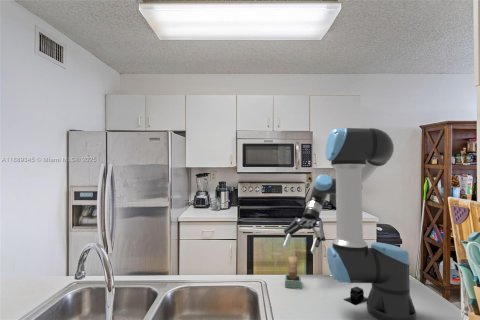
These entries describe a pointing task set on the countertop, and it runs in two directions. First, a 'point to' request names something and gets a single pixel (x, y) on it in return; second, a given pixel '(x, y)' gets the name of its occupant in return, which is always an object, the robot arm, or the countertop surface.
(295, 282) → the cradle
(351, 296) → the black blocky piece
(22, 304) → the countertop surface
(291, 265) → the block
